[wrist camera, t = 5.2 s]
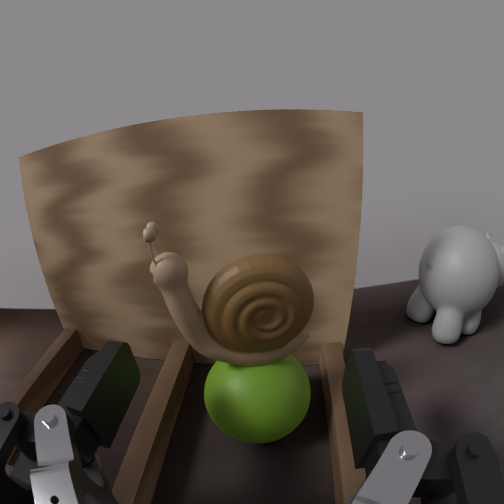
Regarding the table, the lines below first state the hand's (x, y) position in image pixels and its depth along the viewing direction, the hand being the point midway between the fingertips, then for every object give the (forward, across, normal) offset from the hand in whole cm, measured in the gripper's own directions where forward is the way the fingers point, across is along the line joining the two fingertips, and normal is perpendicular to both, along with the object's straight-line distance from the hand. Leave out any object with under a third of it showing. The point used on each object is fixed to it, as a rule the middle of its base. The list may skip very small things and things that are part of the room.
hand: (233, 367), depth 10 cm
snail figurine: (+2, 0, +7) cm, 8 cm away
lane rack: (+1, +5, +7) cm, 9 cm away
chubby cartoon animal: (+11, -19, +7) cm, 23 cm away
